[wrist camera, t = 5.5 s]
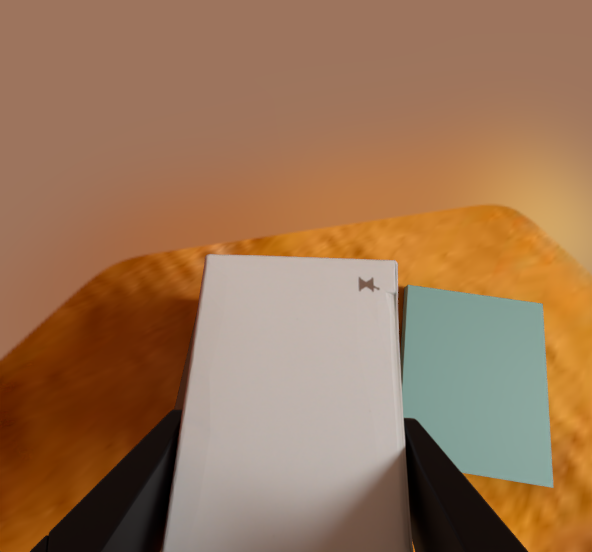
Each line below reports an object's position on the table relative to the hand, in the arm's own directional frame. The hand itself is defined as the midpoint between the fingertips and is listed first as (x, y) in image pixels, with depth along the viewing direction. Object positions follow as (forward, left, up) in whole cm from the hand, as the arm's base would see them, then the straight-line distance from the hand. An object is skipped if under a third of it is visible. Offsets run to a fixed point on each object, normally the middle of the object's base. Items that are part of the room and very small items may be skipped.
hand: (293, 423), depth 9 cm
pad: (-11, -3, -13) cm, 17 cm away
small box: (0, 0, -9) cm, 9 cm away
